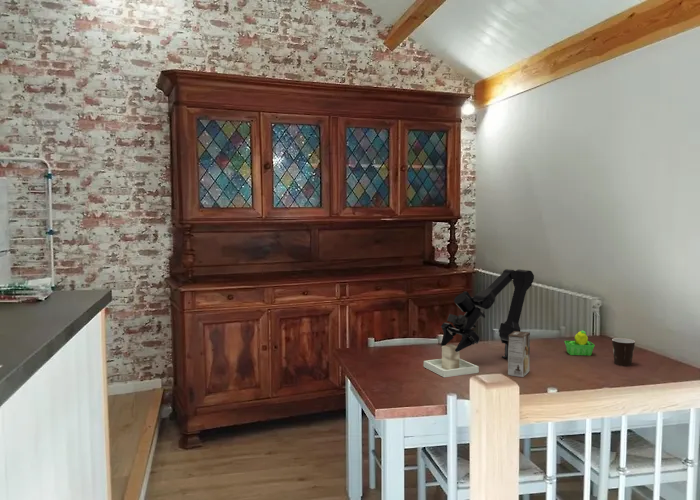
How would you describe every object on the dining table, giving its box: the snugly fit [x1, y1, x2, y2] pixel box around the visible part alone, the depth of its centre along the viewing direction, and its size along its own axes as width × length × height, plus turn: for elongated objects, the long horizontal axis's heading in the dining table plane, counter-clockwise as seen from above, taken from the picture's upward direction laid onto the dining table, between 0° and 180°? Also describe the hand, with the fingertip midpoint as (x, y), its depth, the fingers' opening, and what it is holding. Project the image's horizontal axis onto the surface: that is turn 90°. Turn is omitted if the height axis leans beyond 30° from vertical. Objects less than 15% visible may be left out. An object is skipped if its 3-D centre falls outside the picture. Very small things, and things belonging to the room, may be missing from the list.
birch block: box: [441, 344, 460, 370], centre depth 224 cm, size 5×5×9 cm
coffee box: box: [507, 330, 531, 378], centre depth 218 cm, size 9×6×16 cm
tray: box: [423, 357, 480, 378], centre depth 225 cm, size 16×16×2 cm
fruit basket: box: [564, 330, 595, 356], centre depth 247 cm, size 11×9×11 cm
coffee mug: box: [611, 337, 636, 367], centre depth 230 cm, size 12×9×10 cm
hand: (448, 348), depth 224 cm, fingers open, 9 cm apart
